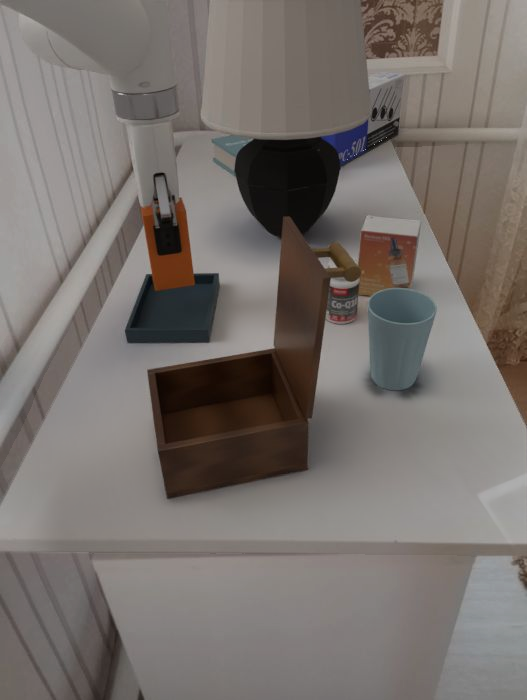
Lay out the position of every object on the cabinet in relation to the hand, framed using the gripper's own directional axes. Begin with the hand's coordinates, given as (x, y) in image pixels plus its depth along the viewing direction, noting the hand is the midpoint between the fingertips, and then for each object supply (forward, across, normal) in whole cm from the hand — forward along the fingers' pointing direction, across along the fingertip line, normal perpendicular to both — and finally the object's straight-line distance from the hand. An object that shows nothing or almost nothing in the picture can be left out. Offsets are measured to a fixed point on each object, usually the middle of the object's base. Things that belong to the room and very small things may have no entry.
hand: (167, 243), depth 81 cm
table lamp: (+11, -20, +22) cm, 32 cm away
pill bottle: (+11, +8, +22) cm, 26 cm away
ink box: (+12, -58, +50) cm, 78 cm away
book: (+11, -53, +26) cm, 60 cm away
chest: (+11, +28, +2) cm, 30 cm away
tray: (+11, 0, 0) cm, 11 cm away
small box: (+11, +3, +31) cm, 33 cm away
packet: (+6, 0, 0) cm, 6 cm away
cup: (+11, +22, +24) cm, 35 cm away
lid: (-4, +28, +10) cm, 30 cm away
